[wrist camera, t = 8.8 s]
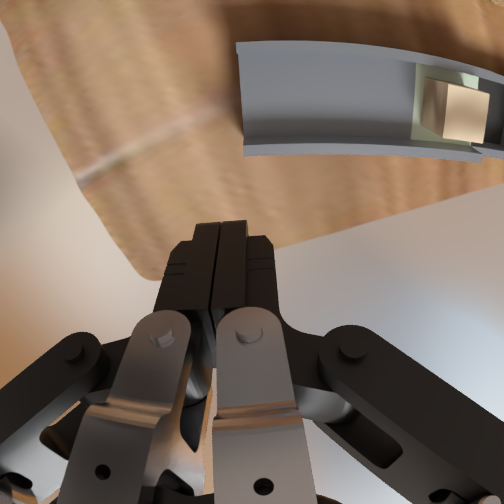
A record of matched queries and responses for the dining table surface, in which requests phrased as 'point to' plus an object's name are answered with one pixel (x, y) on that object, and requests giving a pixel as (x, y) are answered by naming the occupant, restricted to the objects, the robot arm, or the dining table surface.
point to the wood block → (454, 110)
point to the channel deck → (354, 101)
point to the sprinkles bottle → (498, 2)
